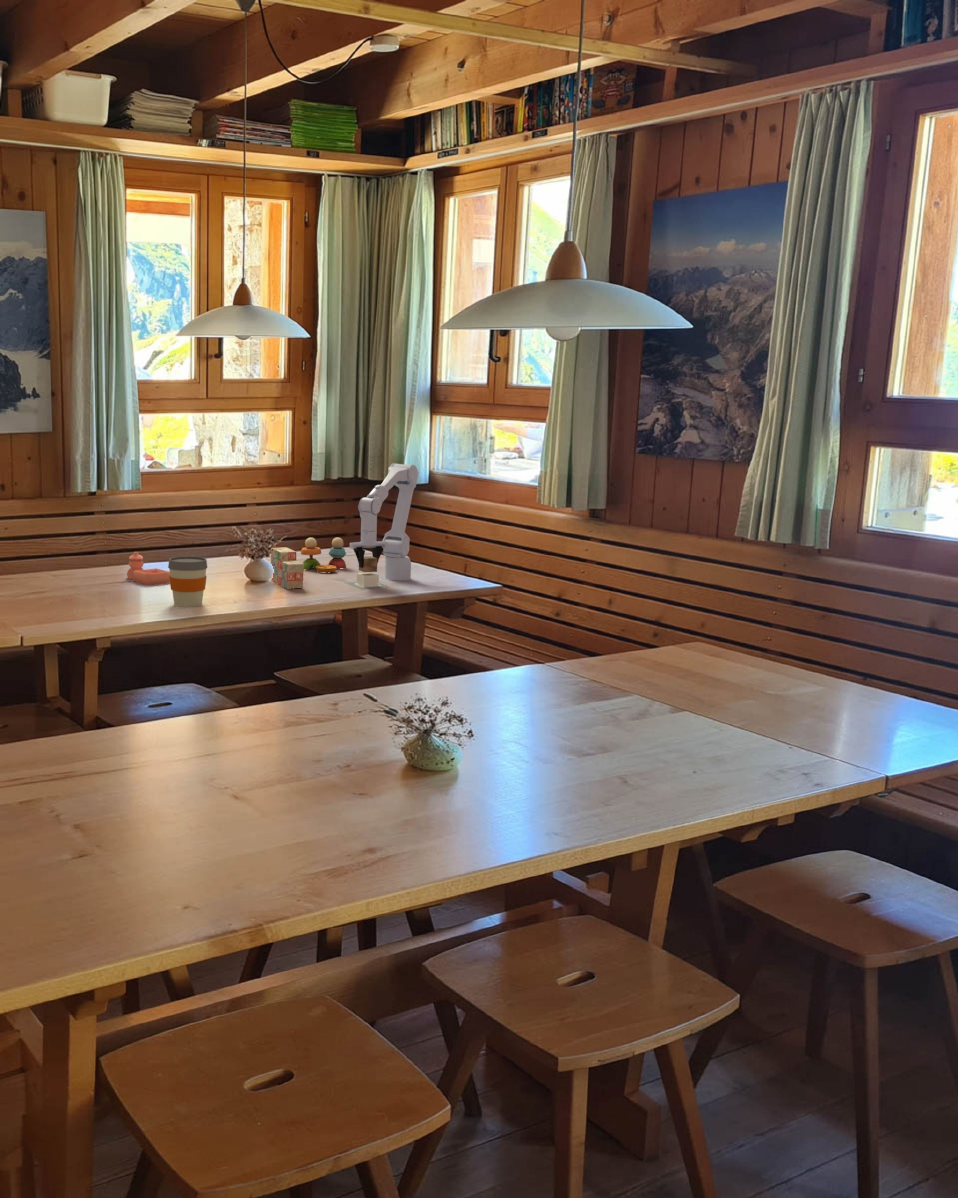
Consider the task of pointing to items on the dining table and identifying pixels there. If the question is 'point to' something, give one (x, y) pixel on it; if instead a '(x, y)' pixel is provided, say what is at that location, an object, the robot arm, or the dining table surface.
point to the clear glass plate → (367, 586)
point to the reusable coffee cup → (187, 580)
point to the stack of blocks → (287, 568)
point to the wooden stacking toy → (311, 550)
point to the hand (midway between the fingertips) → (368, 567)
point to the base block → (367, 579)
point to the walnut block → (369, 564)
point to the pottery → (146, 572)
